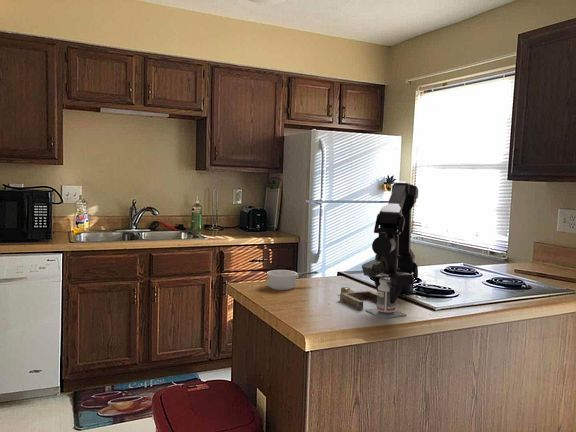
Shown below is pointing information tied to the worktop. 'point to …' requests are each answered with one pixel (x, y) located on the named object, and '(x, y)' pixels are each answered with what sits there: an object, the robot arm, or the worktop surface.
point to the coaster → (386, 315)
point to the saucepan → (284, 279)
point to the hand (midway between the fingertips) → (386, 301)
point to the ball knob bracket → (356, 297)
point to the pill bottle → (384, 297)
